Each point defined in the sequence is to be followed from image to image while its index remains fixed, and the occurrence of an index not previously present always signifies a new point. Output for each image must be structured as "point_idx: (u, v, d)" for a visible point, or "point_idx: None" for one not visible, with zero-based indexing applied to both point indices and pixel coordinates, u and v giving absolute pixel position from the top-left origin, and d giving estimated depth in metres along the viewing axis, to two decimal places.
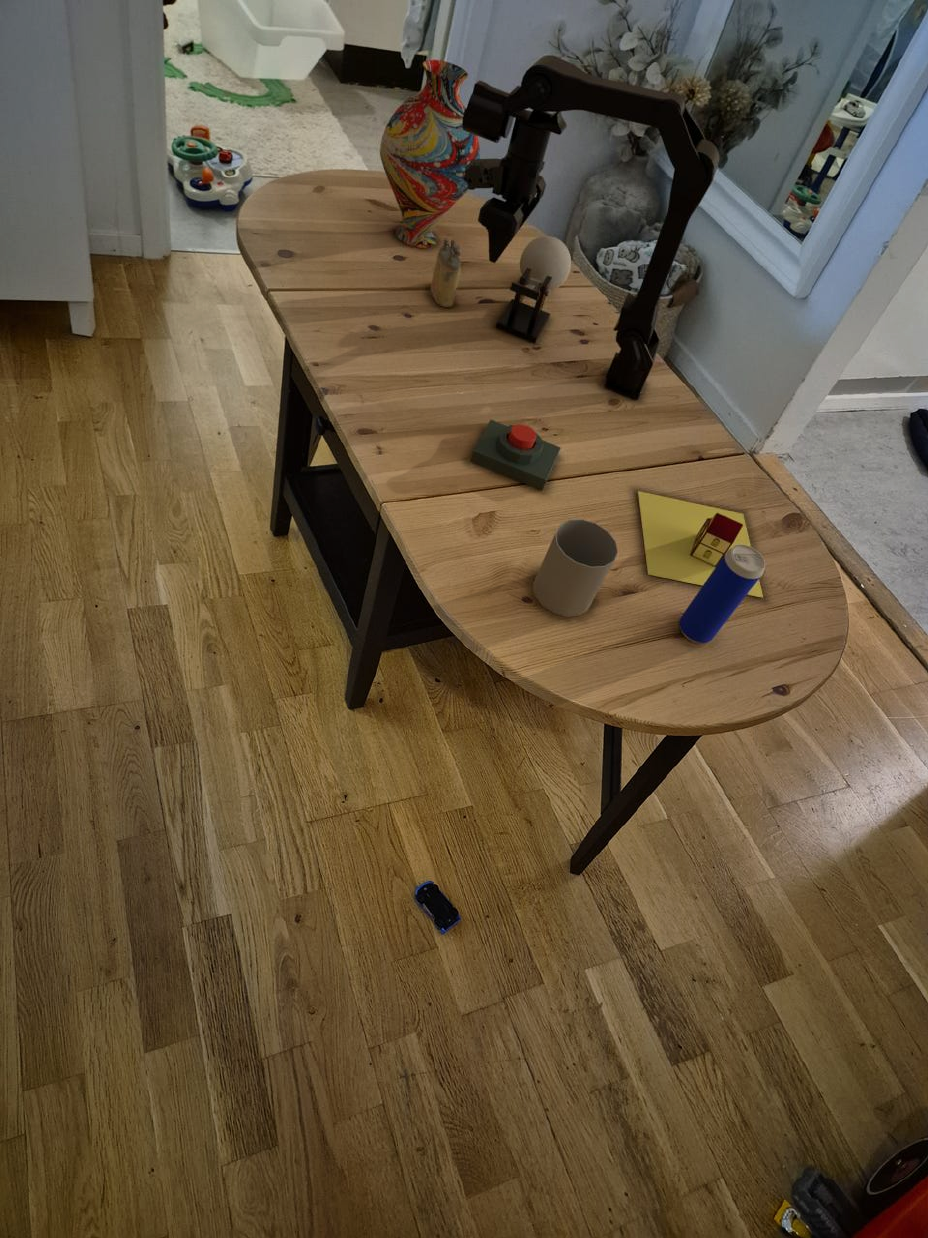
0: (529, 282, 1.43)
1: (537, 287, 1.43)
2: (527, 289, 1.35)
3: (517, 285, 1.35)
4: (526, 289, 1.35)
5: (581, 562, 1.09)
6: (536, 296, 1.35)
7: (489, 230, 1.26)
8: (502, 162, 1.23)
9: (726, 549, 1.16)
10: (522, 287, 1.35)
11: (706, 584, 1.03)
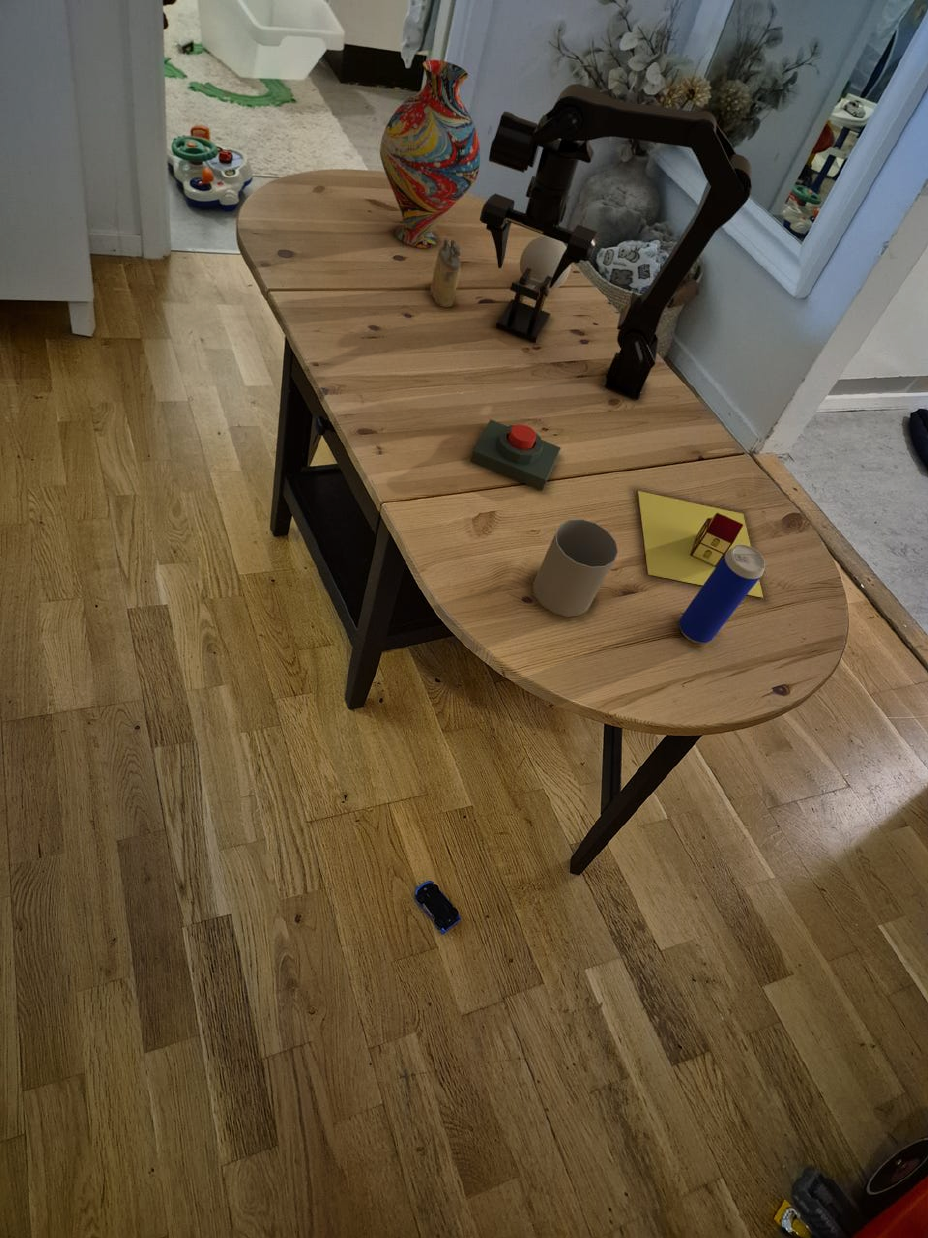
0: (529, 282, 1.43)
1: (537, 287, 1.43)
2: (527, 289, 1.35)
3: (517, 285, 1.35)
4: (526, 289, 1.35)
5: (581, 562, 1.09)
6: (536, 296, 1.35)
7: None
8: None
9: (726, 549, 1.16)
10: (522, 287, 1.35)
11: (706, 584, 1.03)
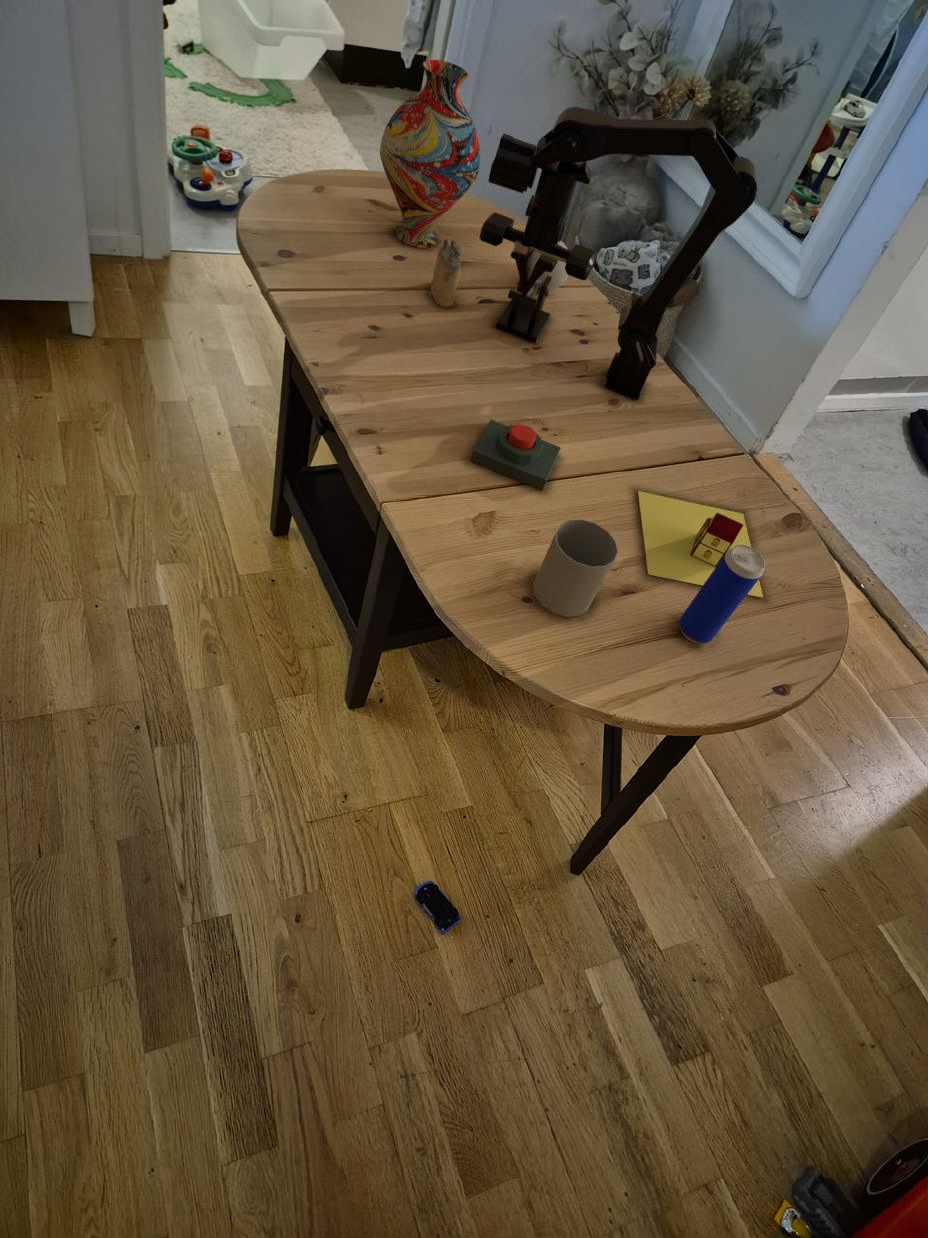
0: None
1: (537, 288, 1.43)
2: (524, 297, 1.36)
3: (514, 293, 1.36)
4: (523, 297, 1.36)
5: (581, 562, 1.09)
6: (533, 304, 1.36)
7: None
8: None
9: (726, 549, 1.16)
10: (519, 295, 1.36)
11: (706, 584, 1.03)
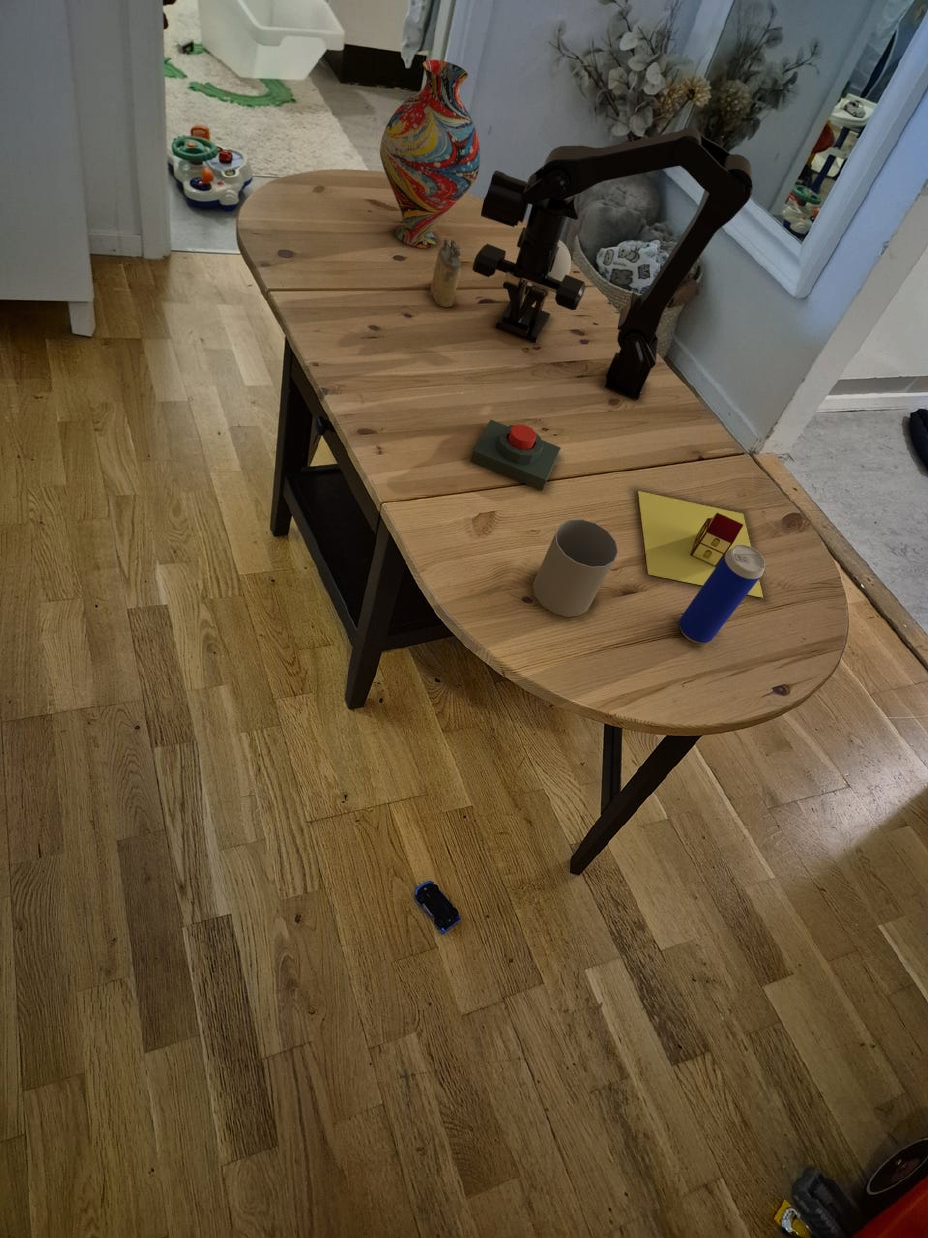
0: (527, 288, 1.44)
1: None
2: (515, 327, 1.40)
3: (506, 323, 1.40)
4: (514, 327, 1.40)
5: (581, 562, 1.09)
6: (524, 333, 1.41)
7: None
8: None
9: (726, 549, 1.16)
10: (510, 325, 1.40)
11: (706, 584, 1.03)
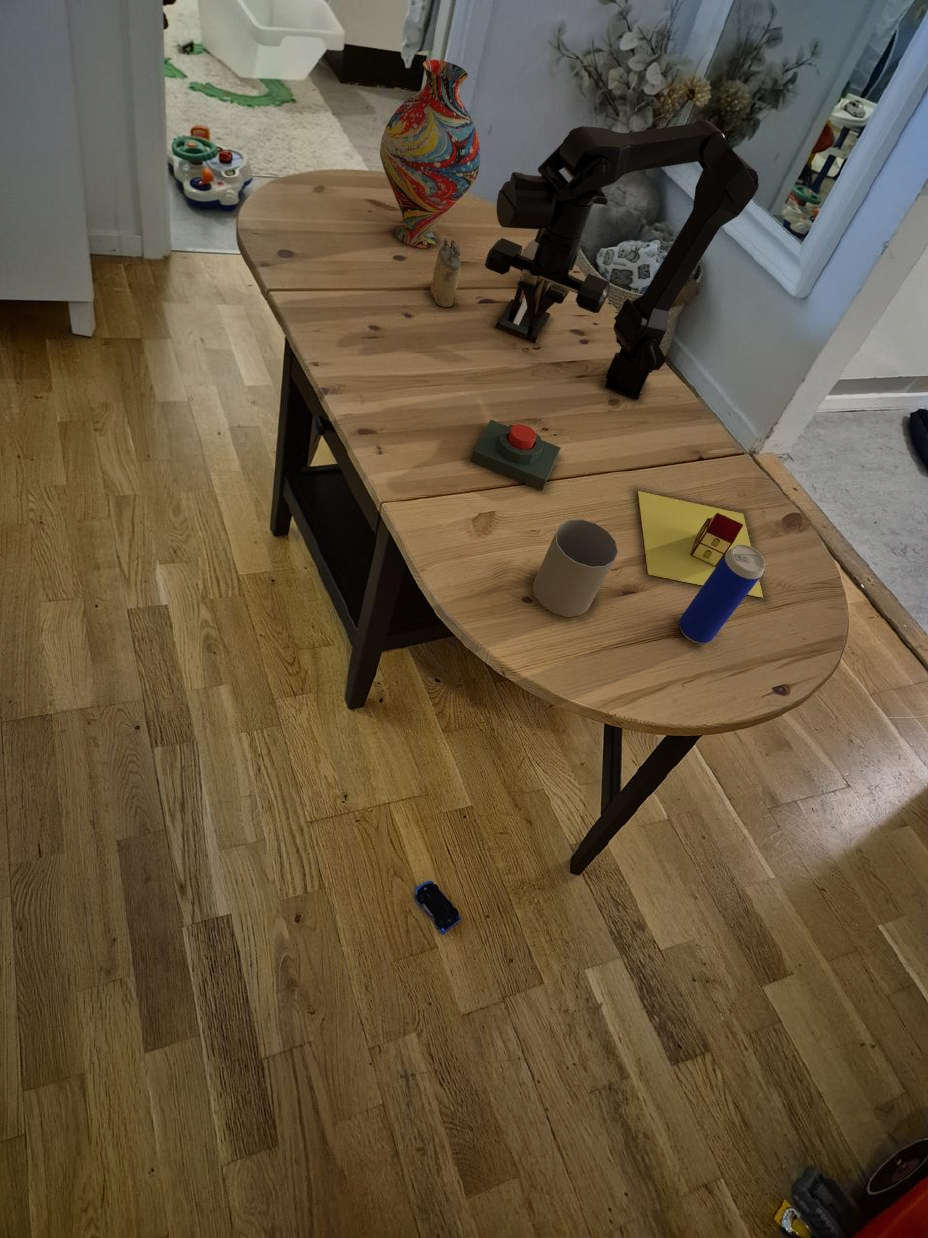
0: None
1: None
2: (514, 330, 1.41)
3: (505, 326, 1.41)
4: (514, 330, 1.41)
5: (581, 562, 1.09)
6: (524, 336, 1.41)
7: None
8: None
9: (726, 549, 1.16)
10: (510, 328, 1.41)
11: (706, 584, 1.03)
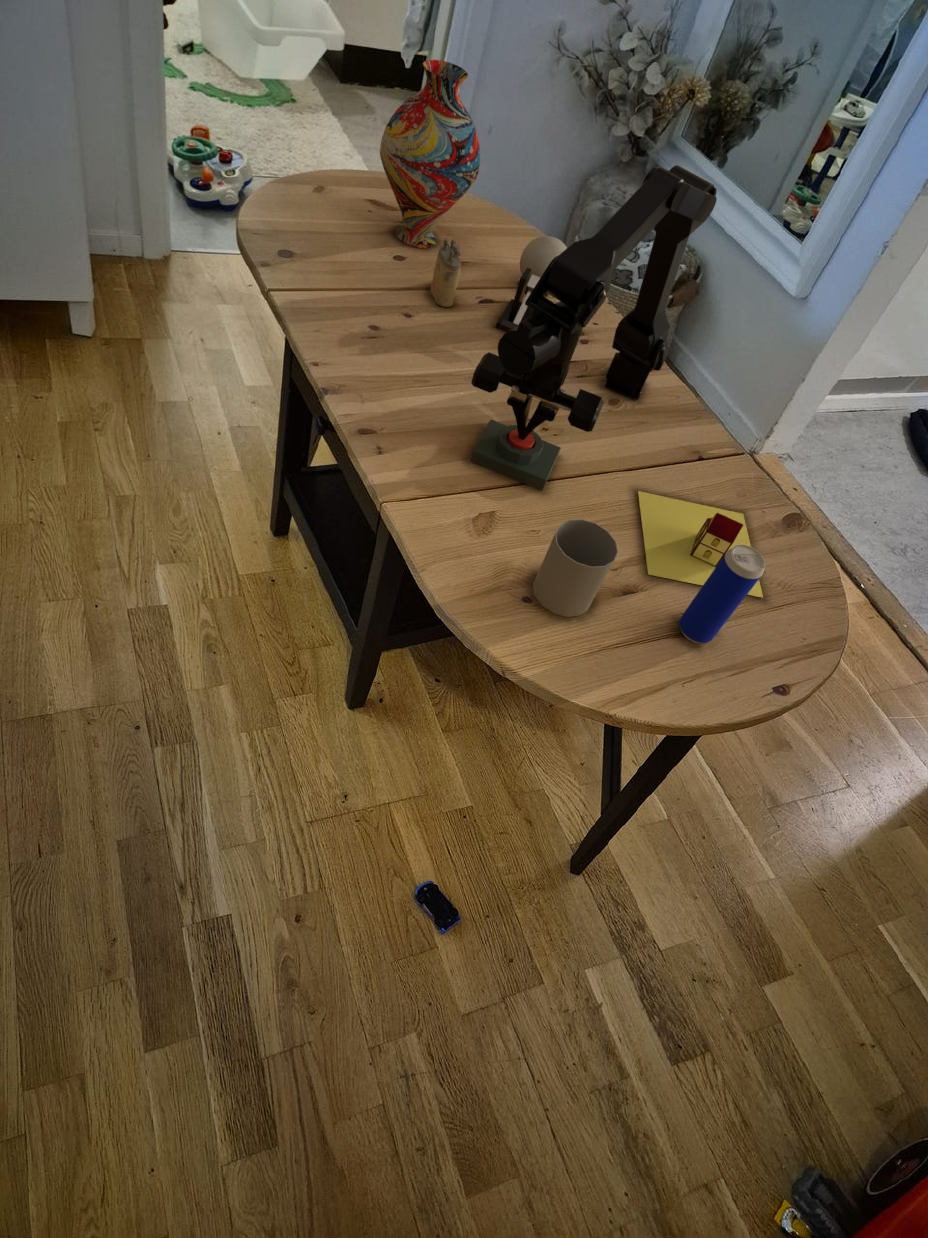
0: (527, 288, 1.44)
1: None
2: None
3: (505, 326, 1.41)
4: None
5: (581, 562, 1.09)
6: None
7: None
8: None
9: (726, 549, 1.16)
10: (510, 328, 1.41)
11: (706, 584, 1.03)
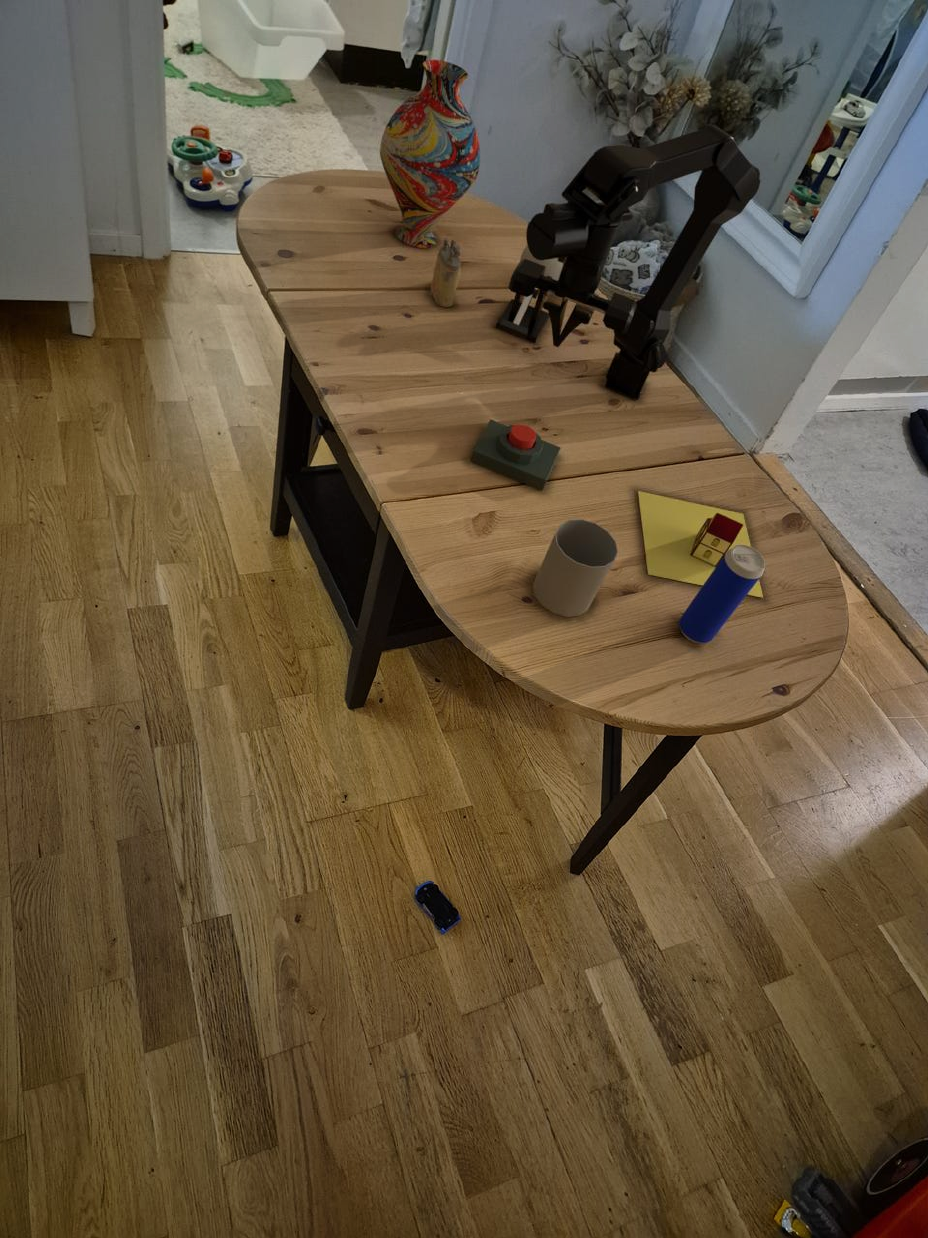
0: None
1: (535, 293, 1.44)
2: (514, 330, 1.41)
3: (505, 326, 1.41)
4: (514, 330, 1.41)
5: (581, 562, 1.09)
6: (524, 336, 1.41)
7: None
8: None
9: (726, 549, 1.16)
10: (510, 328, 1.41)
11: (706, 584, 1.03)
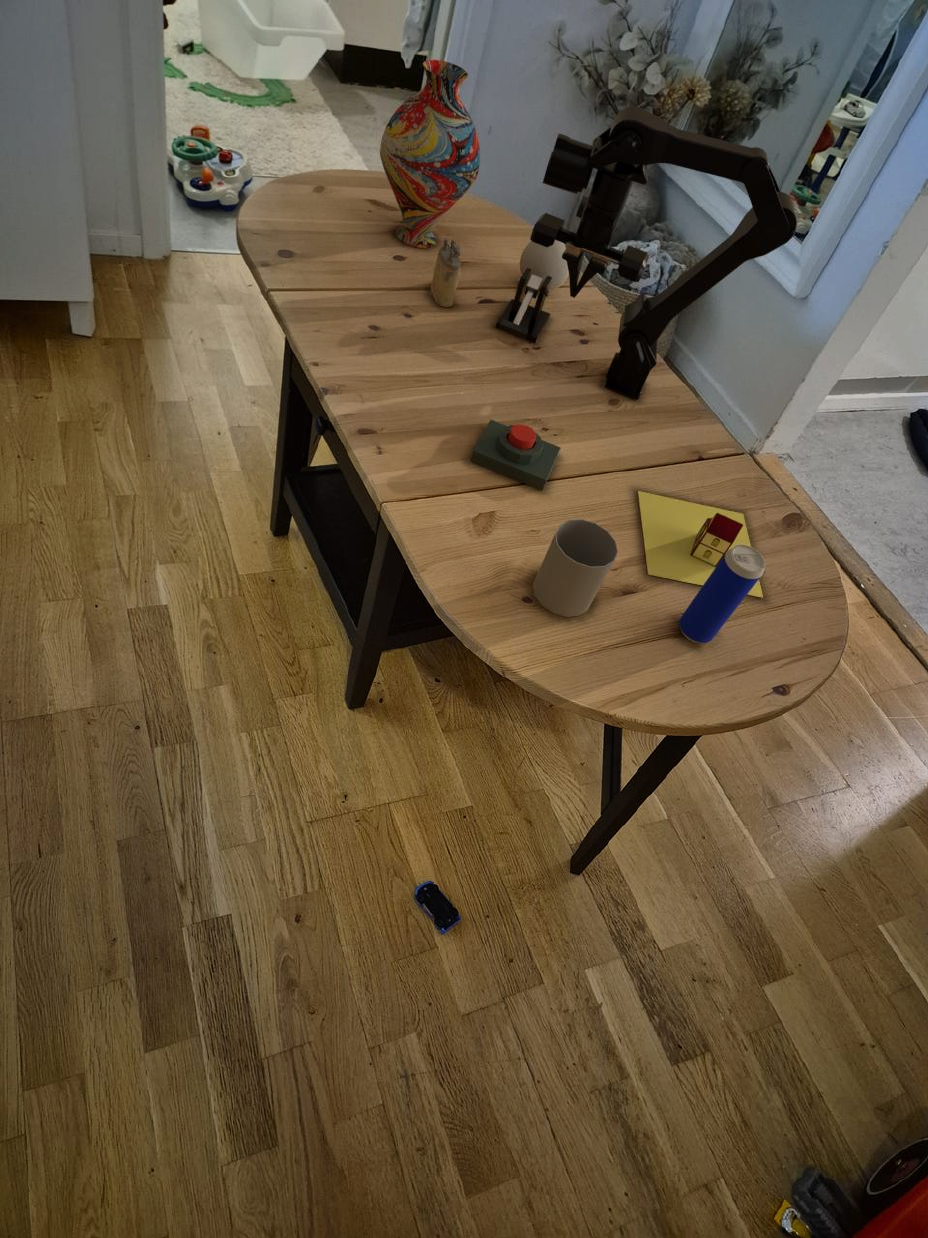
0: (527, 288, 1.44)
1: (535, 293, 1.44)
2: (514, 330, 1.41)
3: (505, 326, 1.41)
4: (514, 330, 1.41)
5: (581, 562, 1.09)
6: (524, 336, 1.41)
7: None
8: None
9: (726, 549, 1.16)
10: (510, 328, 1.41)
11: (706, 584, 1.03)
